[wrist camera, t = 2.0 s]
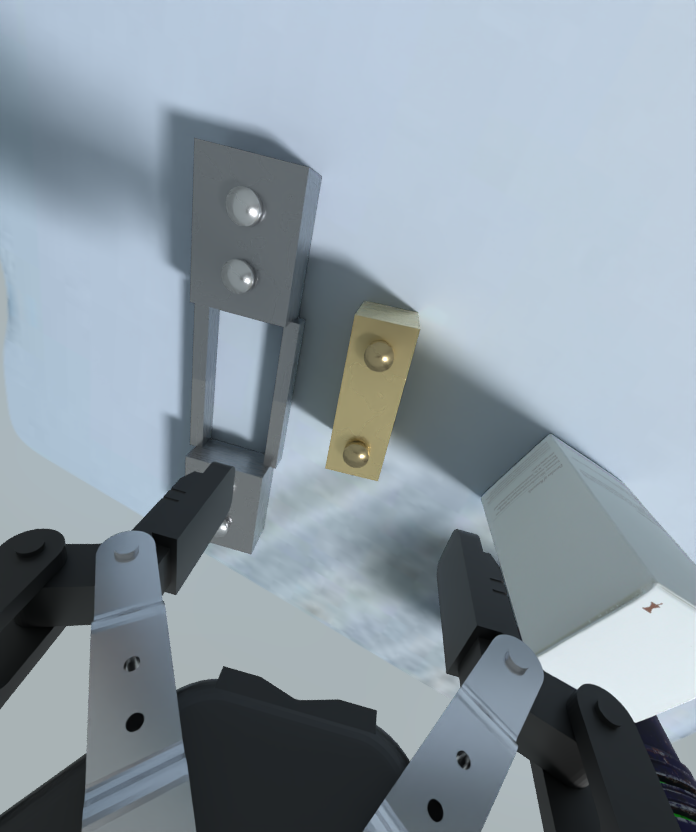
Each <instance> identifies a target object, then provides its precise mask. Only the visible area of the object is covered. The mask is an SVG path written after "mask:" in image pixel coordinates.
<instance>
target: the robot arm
mask: <svg viewBox="0 0 696 832" xmlns="http://www.w3.org/2000/svg"><path fill="white" fill-rule="evenodd" d="M234 479H235V467H233V466H230V465H226V464H223V463H219V462H215V461H214V462H212V463H211V464H210V465H209V466H208V468H207V469H206V470H205V471H204V472H203V473H200V472H196V471H194V472H192V473H190V474H188V475H186V476H184V477H182V478H180V479H179V480H178V482H177V483H176V484H175V485H174V486H173V487H172V488H171V490H169V491H168V492H167V493H166V494H165V495H164V497H163V499H161V500H160V501H159V502H158V503H157V504H156V505H155V506H154V507H153V508H152V509H151V510H150V511H149V513H148V514H147V515H146V516H145V517H144V518H143V519H142V520H141V521H140V522H139V523H138V524H137V525H136V526H135V528H134V529H133V530H131V531H125V532H121V533H118V534H115V535H114V536H111V537H110V538H108V539H107V540H105V541H104V542H103V543H101V544H65V539H64V537H63V535H62V534H61V533H59V532H58V531H55V530H52V529H35V530H30V531H26V532H23V533H20V534H18V535H16V536H14V537H12V538H10V539H9V540H7V541H6V542H5V543H3V544H2V545H1V546H0V709H1V707H2V706H3V705H4V704H5V702H6V701H7V700H8V699H9V697H10V696H11V695H12V693H13V692H14V691H15V690H16V689H17V687H18V686H19V685H20V684H21V682H22V681H23V680H24V679H25V677H26V676H27V675H28V674H29V672H30V671H31V670H32V668H33V667H34V666H35V665H36V664H37V662H38V661H39V660H40V659H41V657H42V656H43V655H44V654H45V652H46V651H47V650H48V649H49V647H50V646H51V645H52V643H53V642H54V641H55V640H56V639H57V637H58V636H59V635H60V633H61V632H62V631H63V630H64V628H65V627H66V626H74V625H91V640H90V670H89V699H88V728H87V753H86V754H84V755H83V756H82V757H80V758H79V759H78V760H76V761H75V762H73V763H72V764H71V765H69V766H68V767H66V768H65V769H64V770H62V771H61V772H59V773H58V774H57V775H55V776H54V777H52V778H51V779H50V780H48V781H47V782H45V783H44V784H43V785H41V786H40V787H38V788H37V789H36V790H35V791H33V792H32V793H30V794H29V795H27V796H26V797H24V798H23V799H22V800H20V801H19V802H18V803H16V804H15V805H13V806H12V807H11V808H9V809H8V810H6V811H5V812H4V813H2V814H1V815H0V832H481V830H482V828H483V826H484V824H485V822H486V819H487V817H488V815H489V813H490V810H491V808H492V806H493V804H494V802H495V799H496V797H497V795H498V793H499V790H500V788H501V786H502V784H503V781H504V779H505V777H506V775H507V773H508V770H509V768H510V766H511V764H512V761H513V759H514V757H515V754H516V752H519V753H520V754H522V755H523V756H524V757H526V758H527V759H529V760H530V763H531V768H532V773H533V778H534V783H535V788H536V794H537V799H538V804H539V809H540V814H541V819H542V824H543V829H544V832H682V831H681V829H680V827H679V824H678V822H677V820H676V817H675V815H674V813H673V810H672V808H671V806H670V804H669V801H668V799H667V797H666V794H665V792H664V790H663V787H662V785H661V783H660V780H659V778H658V776H657V774H656V771H655V769H654V767H653V764H652V762H651V760H650V757H649V755H648V753H647V750H646V748H645V746H644V743H643V741H642V739H641V737H640V734H639V732H638V730H637V727H636V725H635V723H634V721H633V719H632V717H631V716H630V714H629V713H628V711H627V710H626V709H625V707H624V706H623V705H622V704H621V703H620V702H619V701H618V700H617V699H616V698H615V697H614V696H613V695H612V694H611V693H609V692H608V691H606V690H605V689H603V688H601V687H599V686H597V685H594V684H583V685H581V686H580V687H579V688H578V689H577V690H574V689H573V688H571V687H569V686H568V685H566V684H564V683H563V682H561V681H559V680H558V679H556V678H554V677H553V676H551V675H550V674H548V673H547V672H545V671H544V670H543V668H542V665H541V663H540V661H539V659H538V658H537V656H536V655H535V653H534V652H533V651H532V650H531V649H530V648H529V647H528V646H527V645H526V644H525V643H524V642H522V641H521V638H520V635H519V631H518V628H517V625H516V621H515V618H514V614H513V611H512V608H511V604H510V601H509V597H508V596H507V590H506V587H505V585H504V580H503V577H502V573H501V570H500V567H499V566H498V564H497V563H496V561H495V560H494V559H493V557H492V556H491V554H489V553H485V552H483V550H482V546H481V542H480V538H479V536H478V535H476V534H473V533H469V532H466V531H462V530H458V529H455V530H454V532H453V533H452V535H451V537H450V539H449V541H448V543H447V545H446V547H445V550H444V552H443V554H442V556H441V558H440V560H439V563H438V568H437V582H438V593H439V603H440V613H441V623H442V633H443V643H444V654H445V664H446V674H450V675H453V676H457V677H459V679H460V689H459V690H458V692H457V693H456V695H455V696H454V698H453V699H452V701H451V702H450V704H449V705H448V707H447V708H446V710H445V711H444V712H443V714H442V715H441V717H440V718H439V720H438V721H437V723H436V724H435V726H434V727H433V729H432V730H431V731H430V733H429V734H428V736H427V737H426V739H425V740H424V742H423V743H422V745H421V746H420V747H419V749H418V751H417V752H416V754H415V755H414V756H413V758H412V759H411V761H409V759H408V758H407V756H406V754H405V753H404V752H403V750H402V749H401V748H400V746H399V745H398V744H397V743H396V742H395V741H394V740H393V739H392V738H391V736H389V735H388V734H387V733H386V732H385V731H384V730H382V729H381V728H380V727H378V726H377V725H376V714H377V711H376V710H373V709H370V708H366V707H362V706H359V705H356V704H352V703H349V702H346V701H342V700H296V699H294V698H292V697H291V696H289V695H288V694H286V693H285V692H283V691H282V690H280V689H279V688H277V687H275V686H274V685H272V684H271V683H269V682H268V681H266V680H264V679H263V678H262V677H259V676H256V675H252V674H248V673H245V672H242V671H238V670H234V669H231V668H228V667H224V666H223V669H222V671H221V673H220V676H219V678H218V679H209V680H202V681H198V682H195V683H191V684H189V685H186V686H184V687H181V688H179V689H177V690H176V686H175V678H174V670H173V663H172V655H171V647H170V640H169V632H168V625H167V617H166V609H165V603H164V601H163V600H162V595H163V594H164V592H167V593H171V594H174V595H176V594H177V593H178V591H179V590H180V588H181V587H182V585H183V583H184V582H185V580H186V579H187V577H188V576H189V574H190V572H191V571H192V569H193V568H194V566H195V565H196V563H197V562H198V560H199V558H200V557H201V555H202V554H203V552H204V551H205V549H206V548H207V546H208V544H209V543H210V541H211V540H212V538H213V537H214V535H215V534H216V532H217V530H218V529H219V527H220V526H221V524H222V523H223V521H224V519H225V518H226V516H227V514H228V512H229V510H230V507H231V503H232V498H233V489H234Z"/></svg>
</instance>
